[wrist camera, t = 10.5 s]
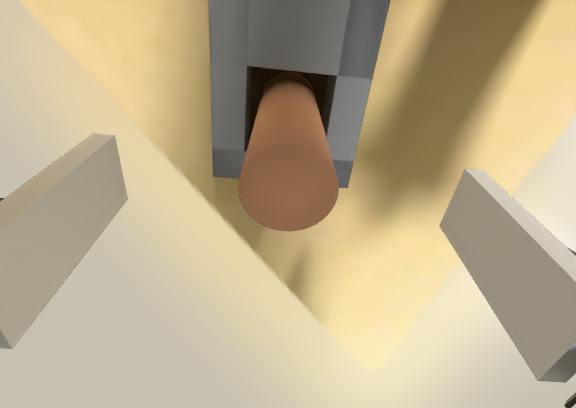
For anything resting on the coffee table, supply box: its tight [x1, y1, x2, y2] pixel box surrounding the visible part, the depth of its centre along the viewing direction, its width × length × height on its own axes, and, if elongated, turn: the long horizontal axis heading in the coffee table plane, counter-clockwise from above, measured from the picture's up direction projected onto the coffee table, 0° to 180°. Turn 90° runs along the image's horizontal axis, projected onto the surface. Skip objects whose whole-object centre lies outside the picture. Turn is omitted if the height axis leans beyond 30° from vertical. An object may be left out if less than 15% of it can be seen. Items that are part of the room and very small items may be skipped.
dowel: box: [238, 72, 339, 231], centre depth 19 cm, size 4×4×14 cm
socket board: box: [209, 0, 390, 188], centre depth 21 cm, size 20×10×4 cm, turn 174°
